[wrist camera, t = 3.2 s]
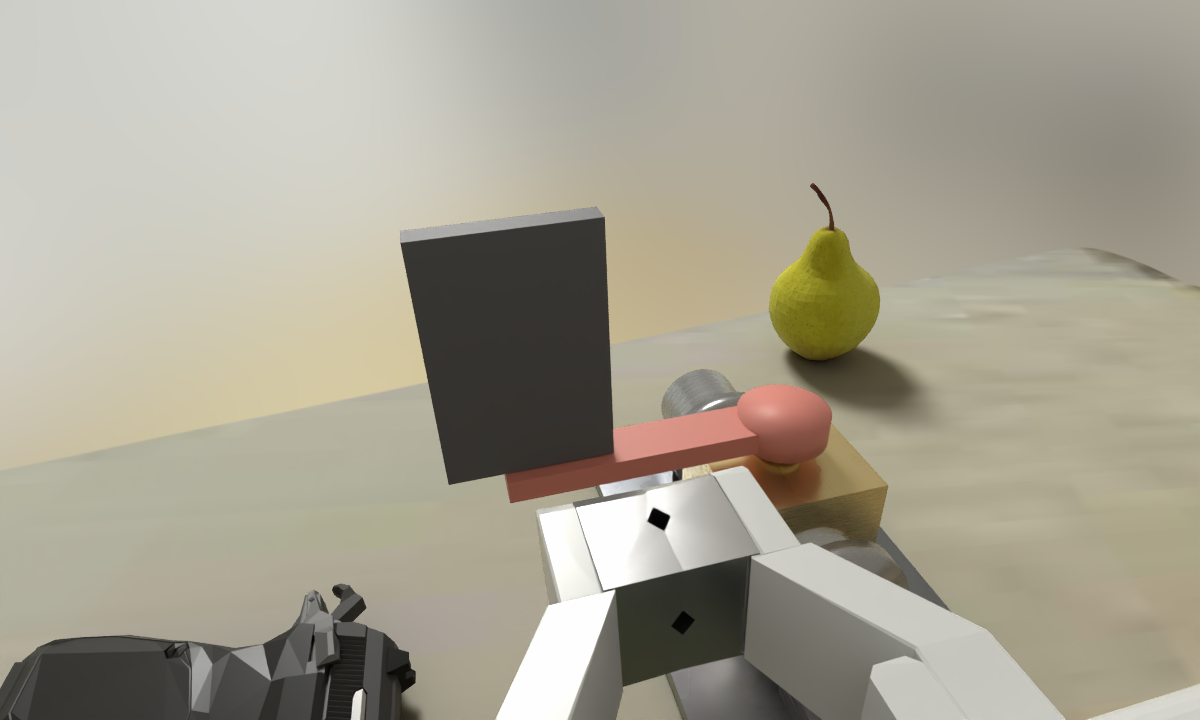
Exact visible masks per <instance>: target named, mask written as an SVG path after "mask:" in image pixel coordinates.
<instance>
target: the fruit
mask: <svg viewBox="0 0 1200 720" xmlns="http://www.w3.org/2000/svg"><path fill="white" fill-rule="evenodd" d="M810 187H811V188H812V189H813V190H814V191H816V193H817V194H818V196H819V198H820V200H821V201H822V202H823V203H824V205H825V206H826V207H827V209H828V211H829V214H830V215H829V216H830V224H829V226H827V227H823V228H821V229H819V230H818V231H816V233H815V234H814V235H813V236H812V237H811V239H810V241H809V243H808V245H807V247H806V249H805V251H804V253H803V254H802V256H801V258H800V259H799V260H797V261H796V262H795V263H793V264H792V265H791V266H789V267H788V268H787V269H786V270H784V271H783V272H782V273H781V275H780V276H779V277H778V278H777V279H776V281H775V283H774V285H773V288H772V290H771V294H770V302H769V312H770V318H771V321H772V324H773V326H774V329H775V330H776V332H777V334H778V335H779V337H780V338H781V339H782V341H783V342H784V343H785V344H786V345H787V346H788V347H789V348H790V349H792V350H793V351H794V352H796V353H797V354H799V355H801V356H802V357H804V358H806V359H809V360H828V359H831V358H834V357H836V356H840V355H843V354H845V353H846V352H848V351H850V350H852V349H854V348H855V347H856V346H857V345H858V344H859V343H860V342H861V341H863V340H864V338H865V337H866V336H867V335H868V333H869V332H870V331H871V329H872V327H873V326H874V324H875V322H876V319H877V316H878V313H879V308H880V295H879V290H878V287H877V285H876V283H875V281H874V280H873V278H872V277H871V276H870V275H869V273H867V272H866V271H865V270H864V269H863V268H862V267H860V266H859V265H858V264H857V263H856V262H855V261H854V259H853V257H852V255H851V252H850V247H849V241H848V239H847V237H846V235H845V233H844V232H843V231H841V230H840V229H838V228H836V227H834V221H833V216H832V212H831V208H830V206H829V204H828V202H827V200H826V198H825V197H824V195H823V194H822V192H821V191H820V190H819V188H818V187H817V186H816V185H815V184H813V183H812V184H811V185H810Z"/></svg>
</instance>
